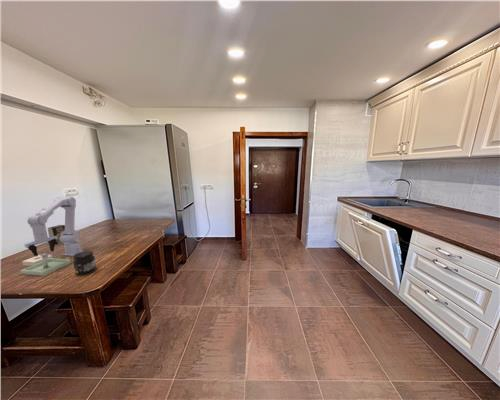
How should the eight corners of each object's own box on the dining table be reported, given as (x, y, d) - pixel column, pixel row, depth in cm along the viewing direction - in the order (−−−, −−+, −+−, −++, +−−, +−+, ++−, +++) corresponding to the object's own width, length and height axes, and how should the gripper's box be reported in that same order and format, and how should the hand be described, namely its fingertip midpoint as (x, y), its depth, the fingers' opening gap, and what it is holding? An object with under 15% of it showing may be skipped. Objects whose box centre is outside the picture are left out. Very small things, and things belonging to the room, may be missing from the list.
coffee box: (56, 246, 156) (52, 228, 153) (50, 245, 157) (46, 227, 154) (68, 242, 164) (65, 224, 162) (63, 241, 166) (59, 224, 163)
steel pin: (52, 265, 124) (51, 252, 123) (46, 268, 120) (45, 254, 120) (44, 266, 123) (43, 253, 123) (39, 268, 119) (38, 255, 119)
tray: (71, 262, 129) (70, 259, 128) (43, 276, 113) (42, 272, 112) (51, 261, 131) (50, 258, 130) (21, 274, 115) (20, 270, 114)
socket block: (52, 259, 134) (52, 255, 133) (35, 266, 124) (34, 262, 124) (41, 258, 135) (40, 254, 135) (23, 265, 125) (22, 261, 125)
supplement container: (74, 271, 118) (71, 253, 116) (95, 265, 125) (93, 248, 123) (75, 278, 111) (71, 259, 109) (97, 271, 118) (94, 253, 116)
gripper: (51, 229, 126) (55, 248, 128) (20, 236, 112) (24, 257, 115) (57, 230, 123) (61, 249, 126) (26, 238, 110) (31, 259, 112)
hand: (44, 253), depth 120 cm, fingers open, 7 cm apart
